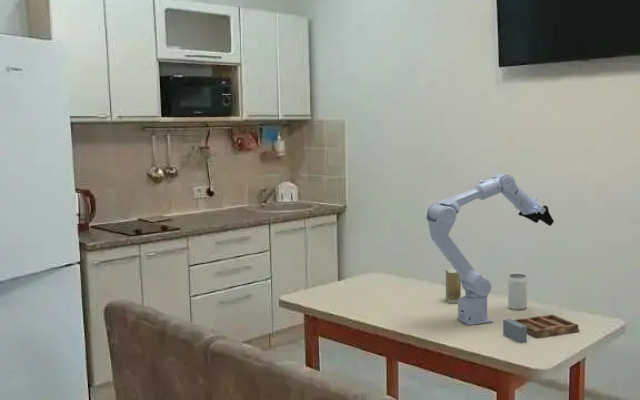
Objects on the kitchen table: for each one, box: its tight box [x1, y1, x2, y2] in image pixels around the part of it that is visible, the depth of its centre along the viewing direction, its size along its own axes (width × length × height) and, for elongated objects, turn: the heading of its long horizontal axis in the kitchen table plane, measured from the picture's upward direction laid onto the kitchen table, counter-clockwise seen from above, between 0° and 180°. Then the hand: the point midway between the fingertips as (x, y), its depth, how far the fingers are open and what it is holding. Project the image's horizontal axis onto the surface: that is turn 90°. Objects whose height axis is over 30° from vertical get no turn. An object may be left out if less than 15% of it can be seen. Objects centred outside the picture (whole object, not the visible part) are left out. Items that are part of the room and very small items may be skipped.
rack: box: [513, 314, 580, 339], centre depth 215 cm, size 16×14×3 cm
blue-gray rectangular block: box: [502, 318, 528, 344], centre depth 207 cm, size 2×9×5 cm, turn 18°
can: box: [507, 273, 528, 311], centre depth 240 cm, size 6×6×12 cm
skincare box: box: [445, 268, 462, 305], centre depth 251 cm, size 6×4×12 cm
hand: (544, 222), depth 231 cm, fingers open, 7 cm apart
